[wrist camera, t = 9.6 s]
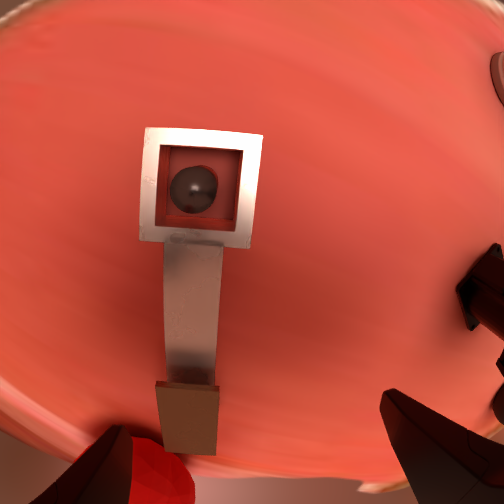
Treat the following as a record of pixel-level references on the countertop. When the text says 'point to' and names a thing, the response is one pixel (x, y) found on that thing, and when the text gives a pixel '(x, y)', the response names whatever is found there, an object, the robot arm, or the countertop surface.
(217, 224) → the square scoop
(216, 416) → the block
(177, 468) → the tomato
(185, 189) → the dark round cylinder
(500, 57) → the travel mug
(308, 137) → the countertop surface
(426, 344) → the countertop surface
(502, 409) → the cola bottle
